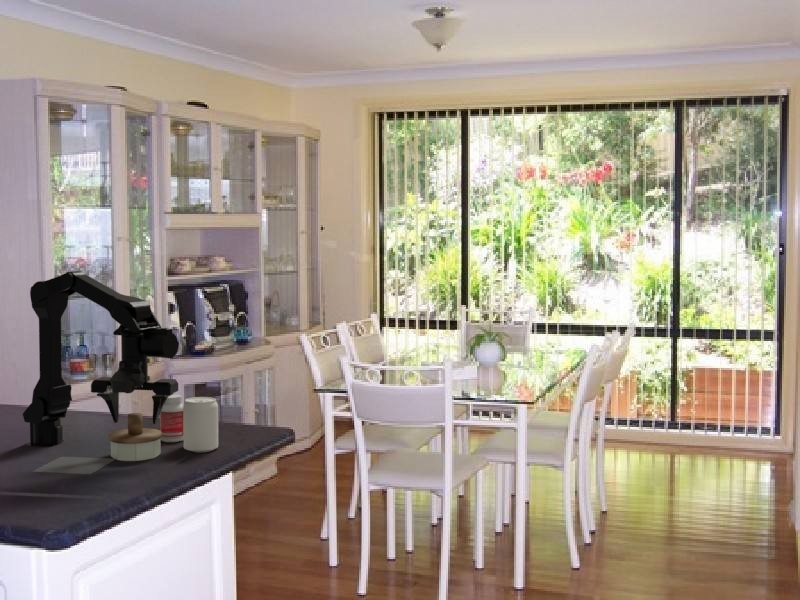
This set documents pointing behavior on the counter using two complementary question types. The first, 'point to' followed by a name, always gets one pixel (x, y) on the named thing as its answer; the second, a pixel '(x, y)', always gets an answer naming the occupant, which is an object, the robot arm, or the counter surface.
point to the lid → (135, 432)
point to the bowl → (135, 451)
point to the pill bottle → (172, 419)
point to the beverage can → (200, 424)
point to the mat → (74, 465)
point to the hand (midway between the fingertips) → (135, 423)
